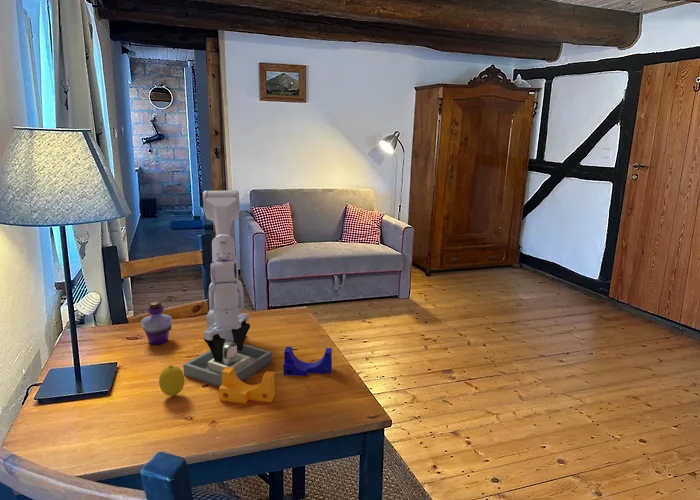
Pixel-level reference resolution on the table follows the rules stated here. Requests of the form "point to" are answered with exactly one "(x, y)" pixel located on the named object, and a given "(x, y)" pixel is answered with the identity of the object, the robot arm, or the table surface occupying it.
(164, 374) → the lemon
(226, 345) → the metal peg
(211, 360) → the walled tray
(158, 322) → the potion bottle
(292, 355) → the blue cradle block
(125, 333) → the table surface
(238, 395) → the pipe clamp
